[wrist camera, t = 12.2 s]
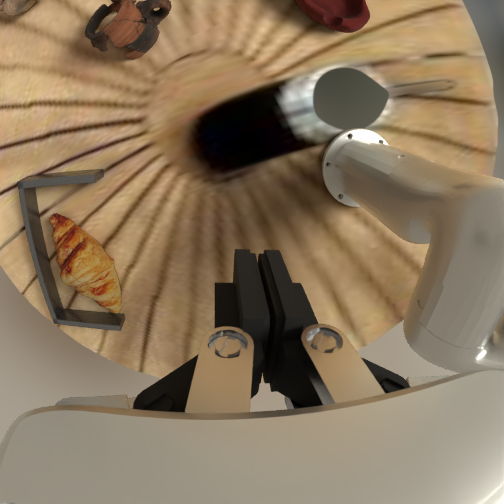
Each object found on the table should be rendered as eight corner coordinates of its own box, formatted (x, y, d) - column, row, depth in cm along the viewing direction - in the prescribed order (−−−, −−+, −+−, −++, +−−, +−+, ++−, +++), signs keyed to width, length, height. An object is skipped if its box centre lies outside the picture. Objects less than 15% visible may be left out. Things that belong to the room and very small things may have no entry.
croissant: (137, 289, 52) (145, 306, 46) (98, 319, 49) (101, 339, 43) (75, 196, 42) (73, 199, 36) (32, 230, 39) (23, 239, 32)
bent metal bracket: (103, 168, 38) (94, 174, 35) (125, 318, 51) (120, 330, 48) (28, 176, 36) (17, 181, 33) (60, 312, 49) (54, 323, 46)
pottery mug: (119, 75, 32) (79, 57, 24) (115, 36, 32) (81, 17, 24) (190, 31, 28) (155, 0, 21) (178, -5, 28) (149, -33, 20)
